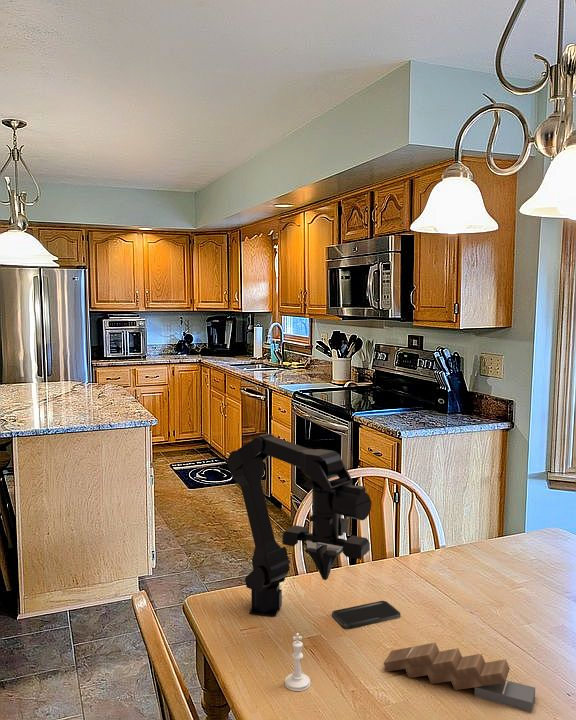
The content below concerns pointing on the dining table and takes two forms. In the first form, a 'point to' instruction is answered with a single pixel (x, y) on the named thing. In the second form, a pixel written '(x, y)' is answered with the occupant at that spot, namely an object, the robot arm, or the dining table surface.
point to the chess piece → (297, 669)
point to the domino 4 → (485, 676)
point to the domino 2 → (438, 664)
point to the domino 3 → (461, 670)
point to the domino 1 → (411, 657)
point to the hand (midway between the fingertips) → (325, 579)
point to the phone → (365, 614)
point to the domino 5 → (508, 694)
